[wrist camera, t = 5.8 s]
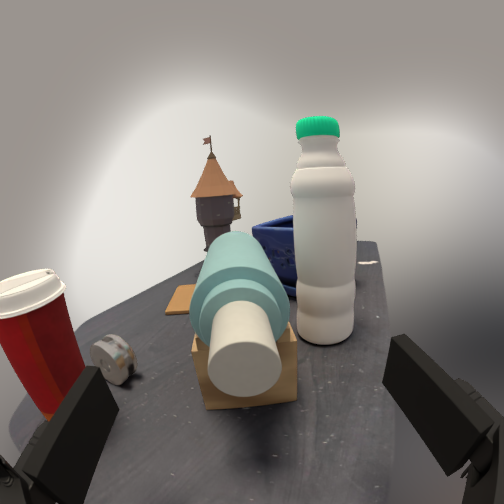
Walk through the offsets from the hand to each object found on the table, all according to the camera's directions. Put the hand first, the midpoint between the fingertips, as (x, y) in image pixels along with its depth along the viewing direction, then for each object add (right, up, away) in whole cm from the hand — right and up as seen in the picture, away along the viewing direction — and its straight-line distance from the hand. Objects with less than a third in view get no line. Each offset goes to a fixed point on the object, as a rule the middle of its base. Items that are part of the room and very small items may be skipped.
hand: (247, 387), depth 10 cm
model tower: (-6, +1, +49) cm, 50 cm away
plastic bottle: (-1, -1, +12) cm, 12 cm away
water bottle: (+9, -4, +22) cm, 24 cm away
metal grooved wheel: (-14, -8, +15) cm, 22 cm away
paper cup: (-15, -10, +7) cm, 20 cm away
